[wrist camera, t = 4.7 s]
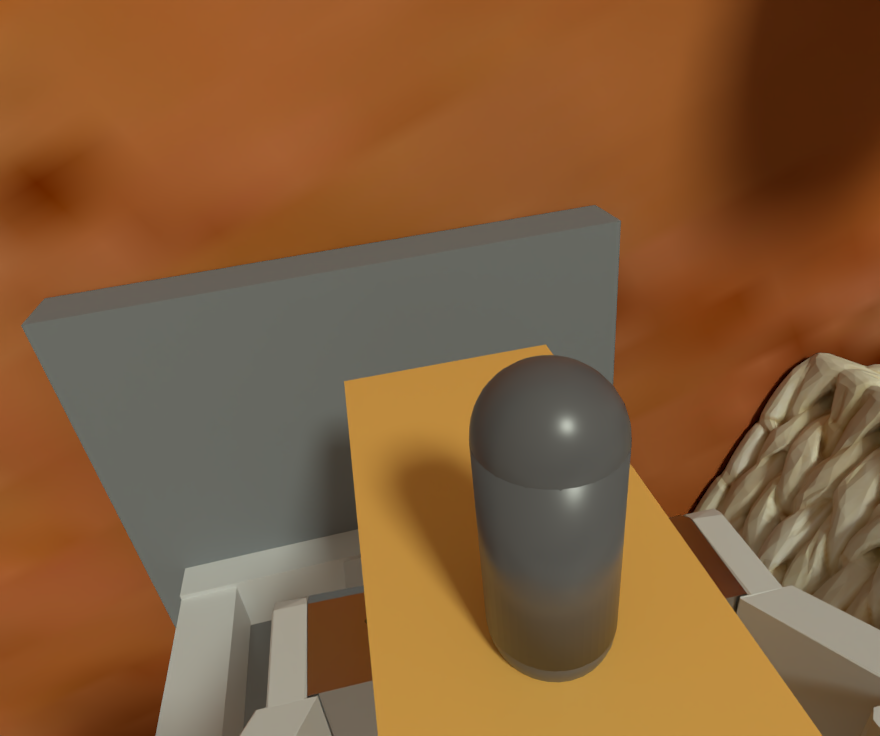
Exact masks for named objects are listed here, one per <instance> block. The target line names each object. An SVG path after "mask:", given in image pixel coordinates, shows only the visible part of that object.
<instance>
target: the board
mask: <svg viewBox="0 0 880 736" xmlns="http://www.w3.org/2000/svg"><path fill="white" fill-rule="evenodd" d="M620 227H621V221H620V220H619V219H617V218H615V217H614V216H612V215H611V214H609V213H607V212H606V211H604V210H602V209H601V208H599V207H598V206H596V205H593V206H587V207H581V208H575V209H569V210H564V211H558V212H552V213H546V214H540V215H534V216H528V217H522V218H516V219H511V220H505V221H499V222H493V223H487V224H481V225H475V226H469V227H463V228H458V229H452V230H446V231H440V232H434V233H428V234H422V235H416V236H410V237H405V238H399V239H393V240H387V241H381V242H375V243H369V244H363V245H357V246H352V247H346V248H340V249H334V250H328V251H322V252H316V253H310V254H304V255H299V256H293V257H287V258H281V259H275V260H269V261H263V262H257V263H251V264H246V265H240V266H234V267H228V268H222V269H216V270H210V271H204V272H198V273H193V274H187V275H181V276H175V277H169V278H163V279H157V280H151V281H145V282H140V283H134V284H128V285H122V286H116V287H110V288H104V289H98V290H92V291H87V292H81V293H75V294H69V295H63V296H57V297H51V298H45V299H44V300H43V301H42V302H41V303H40V305H39V306H38V307H37V308H36V309H35V310H34V311H33V312H32V314H31V315H30V316H29V317H28V318H27V319H26V320H25V322H24V323H23V324H22V325H21V326H22V328H23V330H24V332H25V334H26V336H27V338H28V340H29V342H30V343H31V345H32V347H33V349H34V351H35V353H36V355H37V357H38V359H39V361H40V363H41V365H42V367H43V369H44V371H45V373H46V375H47V377H48V379H49V381H50V383H51V385H52V387H53V389H54V391H55V392H56V394H57V396H58V398H59V400H60V402H61V404H62V406H63V408H64V410H65V412H66V414H67V416H68V418H69V420H70V422H71V424H72V426H73V428H74V430H75V432H76V434H77V436H78V438H79V439H80V441H81V443H82V445H83V447H84V449H85V451H86V453H87V455H88V457H89V459H90V461H91V463H92V465H93V467H94V469H95V471H96V473H97V475H98V477H99V479H100V481H101V483H102V485H103V487H104V488H105V490H106V492H107V494H108V496H109V498H110V500H111V502H112V504H113V506H114V508H115V510H116V512H117V514H118V516H119V518H120V520H121V522H122V524H123V526H124V528H125V530H126V532H127V534H128V535H129V537H130V539H131V541H132V543H133V545H134V547H135V549H136V551H137V553H138V555H139V557H140V559H141V561H142V563H143V565H144V567H145V569H146V571H147V573H148V575H149V577H150V579H151V581H152V583H153V584H154V586H155V588H156V590H157V592H158V594H159V596H160V598H161V600H162V602H163V604H164V606H165V608H166V610H167V612H168V614H169V616H170V618H171V620H172V622H173V624H174V626H175V628H176V631H175V636H174V642H173V647H172V652H171V657H170V662H169V668H168V673H167V678H166V683H165V689H164V694H163V699H162V704H161V709H160V715H159V720H158V725H157V730H156V735H155V736H239V735H240V734H241V732H242V731H243V729H244V727H245V726H246V724H247V723H248V721H249V720H250V718H251V717H252V715H253V713H254V712H255V710H258V709H262V708H265V707H266V700H267V684H268V669H269V654H270V638H271V623H272V612H273V609H274V606H275V603H276V602H281V601H286V600H291V599H296V598H301V597H306V596H310V595H315V594H320V593H326V592H331V591H336V590H341V589H347V588H352V587H357V586H363V574H362V564H361V553H360V543H359V533H358V522H357V512H356V501H355V491H354V480H353V470H352V459H351V449H350V438H349V428H348V418H347V407H346V397H345V386H344V381H348V380H354V379H359V378H365V377H370V376H376V375H381V374H387V373H392V372H397V371H403V370H408V369H414V368H419V367H425V366H430V365H436V364H441V363H447V362H452V361H458V360H463V359H469V358H474V357H480V356H485V355H490V354H496V353H501V352H507V351H512V350H518V349H523V348H529V347H534V346H540V345H545V344H546V345H547V347H548V348H549V350H550V351H551V352H552V354H553V355H557V356H564V357H569V358H572V359H576V360H578V361H580V362H582V363H584V364H587V365H589V366H591V367H592V368H594V369H595V370H597V371H598V372H600V373H601V374H602V375H603V376H604V377H605V378H606V379H607V380H608V381H609V382H610V383H611V384H612V385H613V373H614V352H615V331H616V310H617V289H618V268H619V247H620Z"/></svg>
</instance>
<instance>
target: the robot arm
mask: <svg viewBox="0 0 880 736" xmlns="http://www.w3.org/2000/svg"><path fill="white" fill-rule="evenodd" d="M669 519H670V521H671V522H672V524H673V525H674V526H675V528H676V529H677V531H678V532H679V533H680V535H681V536H682V538H683V539H684V541H685V542H686V543H687V545H688V546H689V548H690V549H691V550H692V552H693V553H694V555H695V556H696V557H697V559H698V560H699V562H700V563H701V565H702V566H703V567H704V569H705V570H706V572H707V573H708V574H709V576H710V577H711V579H712V580H713V582H714V583H715V584H716V586H717V587H718V589H719V590H720V591H721V593H722V594H723V596H724V597H725V598H726V600H727V601H728V603H729V604H730V606H731V607H732V608H733V610H734V611H735V613H736V614H737V615H738V617H739V618H740V620H741V621H742V623H743V624H744V625H745V627H746V628H747V630H748V631H749V632H750V634H751V635H752V637H753V638H754V640H755V641H756V642H757V644H758V645H759V647H760V648H761V649H762V651H763V652H764V654H765V655H766V656H767V658H768V659H769V661H770V662H771V664H772V665H773V666H774V668H775V669H776V671H777V672H778V673H779V675H780V676H781V678H782V679H783V681H784V682H785V683H786V685H787V686H788V688H789V689H790V690H791V692H792V693H793V695H794V696H795V697H796V699H797V700H798V702H799V703H800V705H801V706H802V707H803V709H804V710H805V712H806V713H807V714H808V716H809V717H810V719H811V720H812V722H813V723H814V724H815V726H816V727H817V729H818V730H819V731H820V733H821V734H822V736H880V630H879V629H877V628H875V627H873V626H871V625H869V624H867V623H865V622H863V621H861V620H859V619H857V618H855V617H853V616H851V615H850V614H848V613H846V612H844V611H842V610H840V609H838V608H836V607H834V606H832V605H830V604H828V603H826V602H824V601H822V600H820V599H818V598H816V597H814V596H812V595H810V594H808V593H806V592H804V591H802V590H800V589H798V588H796V587H794V586H792V585H790V586H784V587H782V586H781V584H780V583H779V582H778V581H777V580H776V578H775V577H774V576H773V575H772V574H771V572H770V571H769V570H768V569H767V568H766V566H765V565H764V564H763V563H762V561H761V560H760V559H759V558H758V557H757V555H756V554H755V553H754V552H753V551H752V549H751V548H750V547H749V546H748V545H747V543H746V542H745V541H744V540H743V539H742V537H741V536H740V535H739V534H738V533H737V531H736V530H735V529H734V528H733V527H732V525H731V524H730V523H729V522H728V520H727V519H726V518H725V517H724V516H723V514H722V513H721V512H719V511H718V510H716V509H714V508H713V509H708V510H704V511H699V512H695V513H690V514H685V515H683V516H682V515H678V516H674V517H670V518H669ZM239 736H378V731H377V721H376V710H375V700H374V689H373V679H372V668H371V658H370V647H369V637H368V627H367V616H366V606H365V595H364V585H363V586H357V587H352V588H347V589H341V590H336V591H331V592H326V593H320V594H315V595H310V596H306V597H301V598H296V599H291V600H286V601H281V602H276V603H275V606H274V609H273V612H272V623H271V638H270V654H269V669H268V684H267V700H266V707H265V708H262V709H258V710H255V712H254V713H253V715H252V717H251V718H250V720H249V721H248V723H247V724H246V726H245V727H244V729H243V731H242V732H241V734H240V735H239Z"/></svg>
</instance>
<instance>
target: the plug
mask: <svg viewBox="0 0 880 736" xmlns="http://www.w3.org/2000/svg"><path fill="white" fill-rule="evenodd" d="M344 386H345V397H346V407H347V418H348V428H349V438H350V449H351V459H352V470H353V480H354V491H355V501H356V512H357V522H358V533H359V543H360V553H361V564H362V574H363V585H364V595H365V606H366V616H367V627H368V637H369V647H370V658H371V668H372V679H373V689H374V700H375V710H376V721H377V731H378V736H822V734H821V733H820V731H819V730H818V729H817V727H816V726H815V724H814V723H813V722H812V720H811V719H810V717H809V716H808V714H807V713H806V712H805V710H804V709H803V707H802V706H801V705H800V703H799V702H798V700H797V699H796V697H795V696H794V695H793V693H792V692H791V690H790V689H789V688H788V686H787V685H786V683H785V682H784V681H783V679H782V678H781V676H780V675H779V673H778V672H777V671H776V669H775V668H774V666H773V665H772V664H771V662H770V661H769V659H768V658H767V656H766V655H765V654H764V652H763V651H762V649H761V648H760V647H759V645H758V644H757V642H756V641H755V640H754V638H753V637H752V635H751V634H750V632H749V631H748V630H747V628H746V627H745V625H744V624H743V623H742V621H741V620H740V618H739V617H738V615H737V614H736V613H735V611H734V610H733V608H732V607H731V606H730V604H729V603H728V601H727V600H726V598H725V597H724V596H723V594H722V593H721V591H720V590H719V589H718V587H717V586H716V584H715V583H714V582H713V580H712V579H711V577H710V576H709V574H708V573H707V572H706V570H705V569H704V567H703V566H702V565H701V563H700V562H699V560H698V559H697V557H696V556H695V555H694V553H693V552H692V550H691V549H690V548H689V546H688V545H687V543H686V542H685V541H684V539H683V538H682V536H681V535H680V533H679V532H678V531H677V529H676V528H675V526H674V525H673V524H672V522H671V521H670V519H669V518H668V516H667V515H666V514H665V512H664V511H663V509H662V508H661V507H660V505H659V504H658V502H657V501H656V499H655V498H654V497H653V495H652V494H651V492H650V491H649V490H648V488H647V487H646V485H645V484H644V483H643V481H642V480H641V478H640V477H639V475H638V474H637V473H636V471H635V470H634V468H633V467H632V466H631V464H630V456H631V441H632V437H631V424H630V420H629V416H628V413H627V410H626V407H625V404H624V402H623V401H622V399H621V397H620V396H619V394H618V392H617V391H616V389H615V388H614V386H613V385H612V384H611V383H610V382H609V381H608V380H607V379H606V378H605V377H604V376H603V375H602V374H601V373H600V372H598V371H597V370H595V369H594V368H592V367H591V366H589V365H587V364H584V363H582V362H580V361H578V360H576V359H572V358H569V357H564V356H557V355H553V354H552V352H551V351H550V350H549V348H548V347H547V345H546V344H545V345H540V346H534V347H529V348H523V349H518V350H512V351H507V352H501V353H496V354H490V355H485V356H480V357H474V358H469V359H463V360H458V361H452V362H447V363H441V364H436V365H430V366H425V367H419V368H414V369H408V370H403V371H397V372H392V373H387V374H381V375H376V376H370V377H365V378H359V379H354V380H348V381H344Z"/></svg>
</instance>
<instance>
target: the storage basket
mask: <svg viewBox="0 0 880 736" xmlns="http://www.w3.org/2000/svg"><path fill="white" fill-rule="evenodd" d="M713 508H714V509H716V510H718V511H719V512H721V513H722V514H723V516H724V517H725V518H726V519H727V520H728V522H729V523H730V524H731V525H732V527H733V528H734V529H735V530H736V531H737V533H738V534H739V535H740V536H741V537H742V539H743V540H744V541H745V542H746V543H747V545H748V546H749V547H750V548H751V549H752V551H753V552H754V553H755V554H756V555H757V557H758V558H759V559H760V560H761V561H762V563H763V564H764V565H765V566H766V568H767V569H768V570H769V571H770V572H771V574H772V575H773V576H774V577H775V578H776V580H777V581H778V582H779V583H780V584H781V586H782V587H784V586H790V585H792V586H794V587H796V588H798V589H800V590H802V591H804V592H806V593H808V594H810V595H812V596H814V597H816V598H818V599H820V600H822V601H824V602H826V603H828V604H830V605H832V606H834V607H836V608H838V609H840V610H842V611H844V612H846V613H848V614H850V615H851V616H853V617H855V618H857V619H859V620H861V621H863V622H865V623H867V624H869V625H871V626H873V627H875V628H877V629H879V630H880V364H874V365H870V366H864V365H861V364H858V363H855V362H852V361H849V360H847V359H844V358H841V357H838V356H835V355H832V354H829V353H816V354H814V355H813V356H811V357H810V358H808V359H807V360H805V361H804V362H802V363H801V364H799V365H798V366H796V367H795V368H794V369H793V370H792V371H791V372H790V373H789V374H788V375H787V376H786V378H785V379H784V380H783V381H782V382H781V384H780V385H779V386H778V387H777V389H776V390H775V392H774V393H773V395H772V396H771V397H770V399H769V401H768V402H767V404H766V406H765V408H764V409H763V411H762V413H761V416H760V420H759V422H758V423H755V424H754V426H753V427H752V428H751V429H750V430H749V431H748V432H747V434H746V435H745V437H744V438H743V440H742V441H741V442H740V444H739V445H738V447H737V449H736V450H735V452H734V454H733V455H732V457H731V459H730V461H729V463H728V464H727V466H726V468H725V470H724V471H723V472H722V474H721V475H720V476H718V477H717V478H716V479H715V480H714V481H713V483H712V484H711V485H710V487H709V488H708V490H707V491H706V493H705V494H704V496H703V497H702V499H701V500H700V502H699V503H698V505H697V507H696V508H695V510H694V512H693V513H695V512H699V511H704V510H708V509H713Z"/></svg>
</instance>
